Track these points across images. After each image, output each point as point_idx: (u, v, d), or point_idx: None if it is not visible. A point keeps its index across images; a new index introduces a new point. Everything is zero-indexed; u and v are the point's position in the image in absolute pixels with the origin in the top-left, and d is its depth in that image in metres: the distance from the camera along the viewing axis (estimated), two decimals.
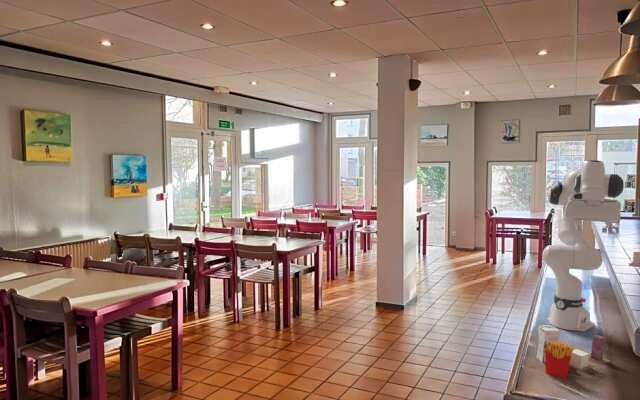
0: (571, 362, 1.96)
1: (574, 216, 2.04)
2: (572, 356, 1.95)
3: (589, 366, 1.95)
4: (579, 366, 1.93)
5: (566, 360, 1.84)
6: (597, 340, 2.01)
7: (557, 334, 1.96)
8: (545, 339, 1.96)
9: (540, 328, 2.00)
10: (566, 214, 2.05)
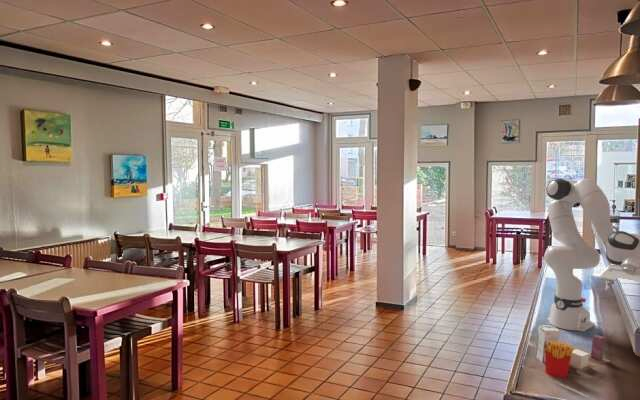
0: (571, 362, 1.96)
1: None
2: (572, 356, 1.95)
3: (589, 366, 1.95)
4: (579, 366, 1.93)
5: (566, 360, 1.84)
6: (597, 340, 2.01)
7: (557, 334, 1.96)
8: (545, 339, 1.96)
9: (540, 328, 2.00)
10: None
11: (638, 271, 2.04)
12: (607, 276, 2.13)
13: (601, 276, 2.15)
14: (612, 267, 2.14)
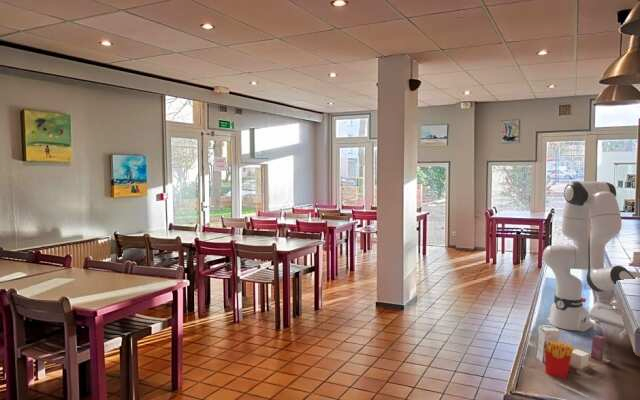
0: (571, 362, 1.96)
1: None
2: (572, 356, 1.95)
3: (589, 366, 1.95)
4: (579, 366, 1.93)
5: (566, 360, 1.84)
6: (597, 340, 2.01)
7: (557, 334, 1.96)
8: (545, 339, 1.96)
9: (540, 328, 2.00)
10: None
11: None
12: (596, 314, 2.11)
13: (589, 313, 2.13)
14: (601, 305, 2.12)
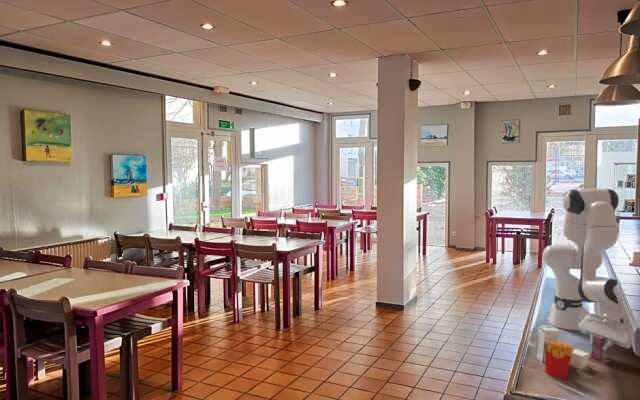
0: (571, 362, 1.96)
1: None
2: (572, 356, 1.95)
3: (589, 366, 1.95)
4: (579, 366, 1.93)
5: (566, 360, 1.84)
6: (597, 340, 2.01)
7: (557, 334, 1.96)
8: (545, 339, 1.96)
9: (540, 328, 2.00)
10: None
11: (618, 325, 2.01)
12: (586, 327, 2.09)
13: (580, 326, 2.11)
14: (591, 318, 2.10)
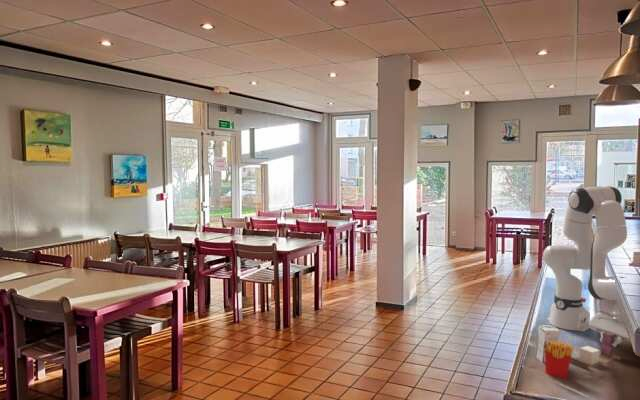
0: (582, 358, 2.00)
1: None
2: (583, 352, 1.99)
3: (600, 362, 1.99)
4: (590, 362, 1.97)
5: (566, 360, 1.84)
6: (607, 337, 2.05)
7: (557, 334, 1.96)
8: (545, 339, 1.96)
9: (540, 328, 2.00)
10: None
11: None
12: (596, 324, 2.13)
13: (590, 324, 2.15)
14: (601, 315, 2.14)
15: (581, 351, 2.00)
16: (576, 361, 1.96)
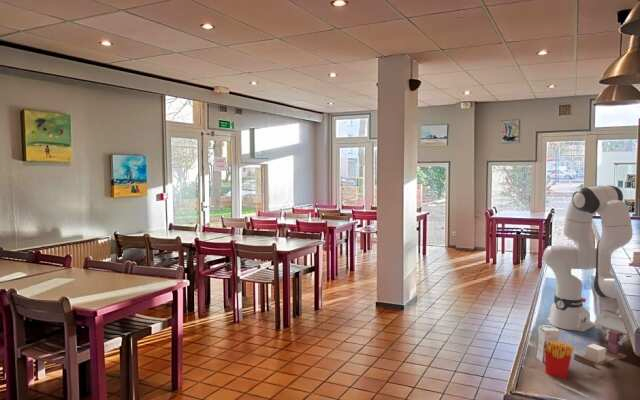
0: (588, 356, 2.02)
1: None
2: (589, 350, 2.02)
3: (606, 360, 2.01)
4: (596, 360, 1.99)
5: (566, 360, 1.84)
6: (613, 335, 2.07)
7: (557, 334, 1.96)
8: (545, 339, 1.96)
9: (540, 328, 2.00)
10: None
11: None
12: (602, 323, 2.15)
13: (596, 322, 2.17)
14: (607, 313, 2.17)
15: (587, 349, 2.02)
16: (583, 359, 1.98)
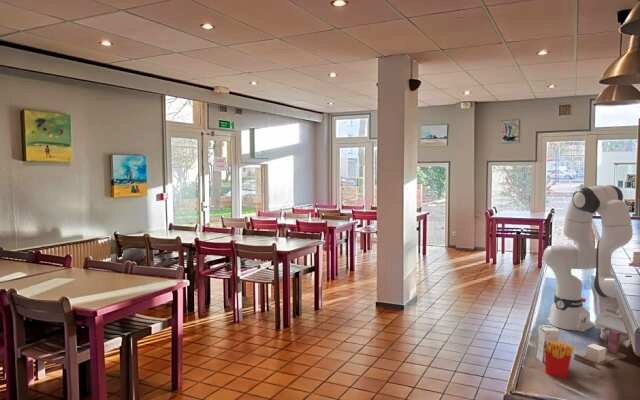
0: (589, 356, 2.02)
1: None
2: (590, 350, 2.02)
3: (606, 360, 2.02)
4: (597, 360, 1.99)
5: (566, 360, 1.84)
6: (613, 335, 2.07)
7: (557, 334, 1.96)
8: (545, 339, 1.96)
9: (540, 328, 2.00)
10: None
11: None
12: (602, 322, 2.15)
13: (596, 321, 2.17)
14: (607, 313, 2.17)
15: (588, 349, 2.02)
16: (583, 359, 1.98)
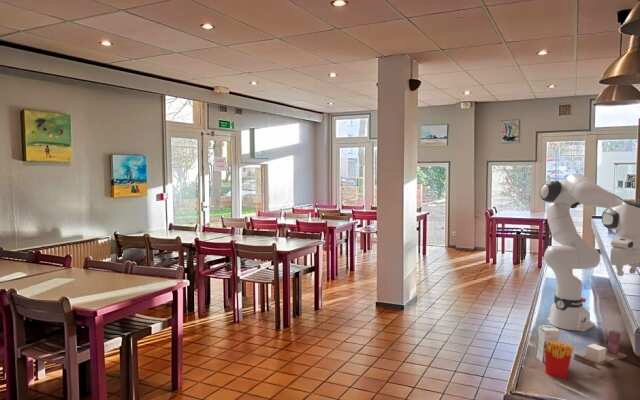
0: (589, 356, 2.02)
1: (623, 264, 2.02)
2: (590, 350, 2.02)
3: (606, 360, 2.02)
4: (597, 360, 1.99)
5: (566, 360, 1.84)
6: (613, 335, 2.07)
7: (557, 334, 1.96)
8: (545, 339, 1.96)
9: (540, 328, 2.00)
10: (619, 263, 2.01)
11: None
12: None
13: None
14: None
15: (588, 349, 2.02)
16: (583, 359, 1.98)
